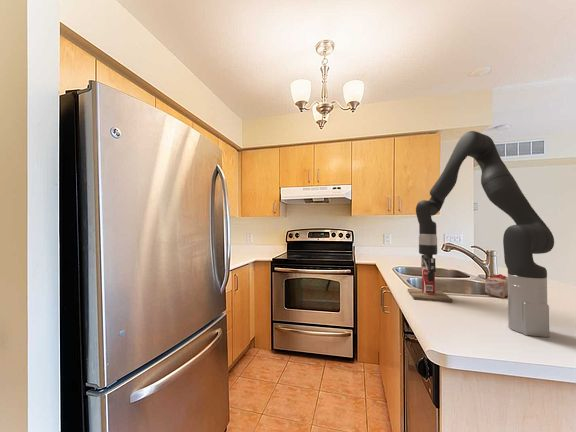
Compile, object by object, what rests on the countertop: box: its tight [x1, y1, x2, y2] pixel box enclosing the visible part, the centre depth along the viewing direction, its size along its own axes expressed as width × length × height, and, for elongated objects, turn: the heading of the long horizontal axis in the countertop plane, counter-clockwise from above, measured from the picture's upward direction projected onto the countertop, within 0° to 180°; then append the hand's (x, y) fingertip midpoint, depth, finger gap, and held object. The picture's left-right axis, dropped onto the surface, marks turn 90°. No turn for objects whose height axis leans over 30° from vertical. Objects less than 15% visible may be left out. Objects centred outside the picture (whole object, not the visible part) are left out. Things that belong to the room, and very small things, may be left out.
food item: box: [484, 273, 508, 299], centre depth 123 cm, size 14×8×10 cm, turn 127°
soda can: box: [421, 267, 436, 295], centre depth 121 cm, size 5×5×12 cm
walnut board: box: [407, 288, 454, 303], centre depth 121 cm, size 15×15×1 cm
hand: (428, 279), depth 121 cm, fingers open, 8 cm apart
